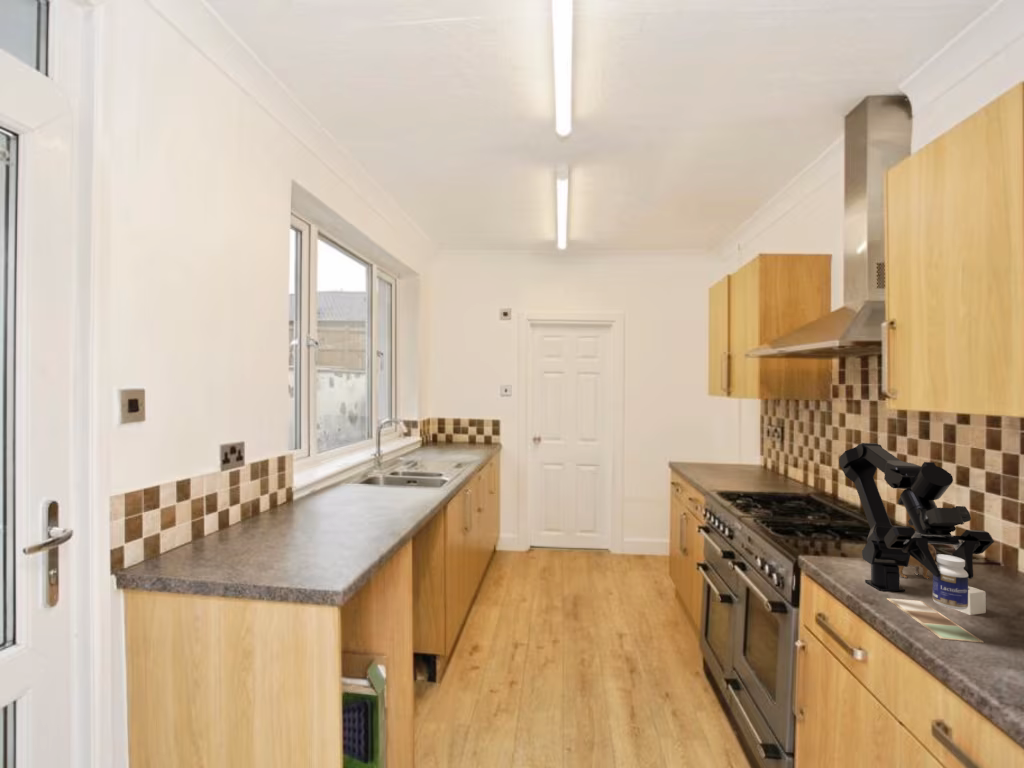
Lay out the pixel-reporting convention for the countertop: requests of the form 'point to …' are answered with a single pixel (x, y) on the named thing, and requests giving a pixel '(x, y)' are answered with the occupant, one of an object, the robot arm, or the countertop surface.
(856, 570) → the countertop surface
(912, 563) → the lion figurine
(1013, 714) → the countertop surface
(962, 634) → the game board
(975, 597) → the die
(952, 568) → the pill bottle
